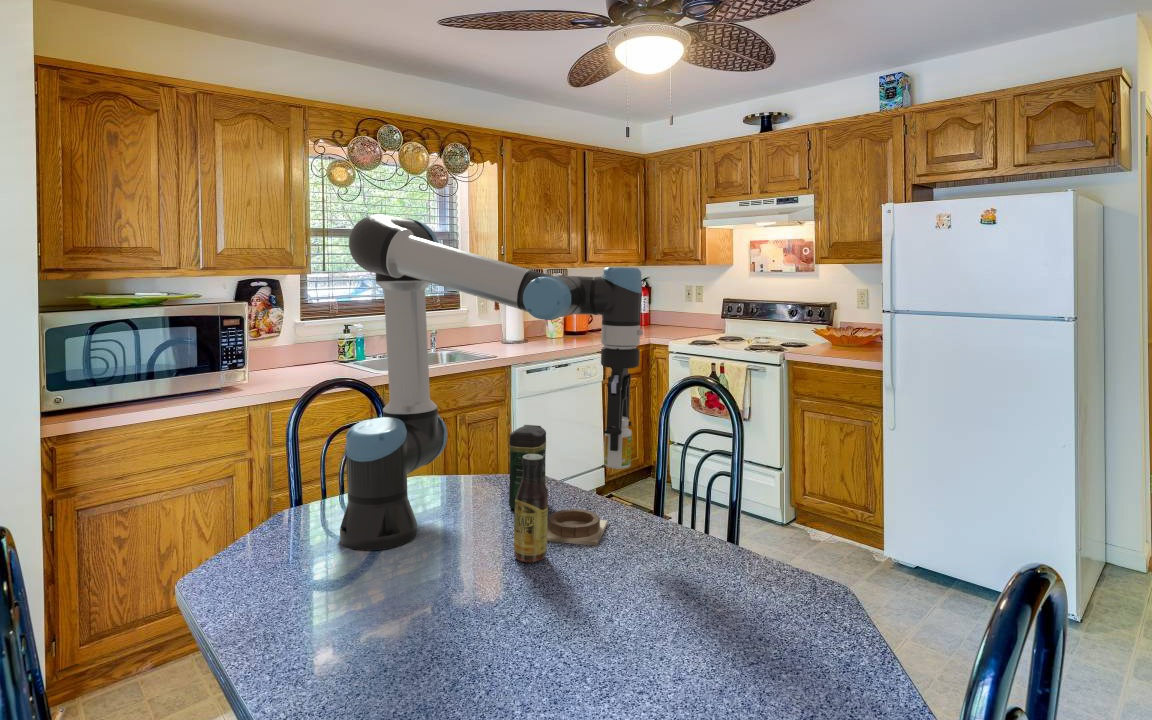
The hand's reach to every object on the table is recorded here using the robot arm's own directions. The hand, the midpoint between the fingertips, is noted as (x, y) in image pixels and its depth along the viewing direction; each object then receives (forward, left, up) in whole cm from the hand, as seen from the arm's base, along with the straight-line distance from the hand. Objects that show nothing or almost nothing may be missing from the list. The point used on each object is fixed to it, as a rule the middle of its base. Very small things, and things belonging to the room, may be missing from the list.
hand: (617, 461), depth 137 cm
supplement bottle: (0, 0, -1) cm, 1 cm away
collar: (-9, +2, -16) cm, 19 cm away
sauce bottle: (-14, -13, -16) cm, 25 cm away
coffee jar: (-23, +15, -16) cm, 32 cm away
